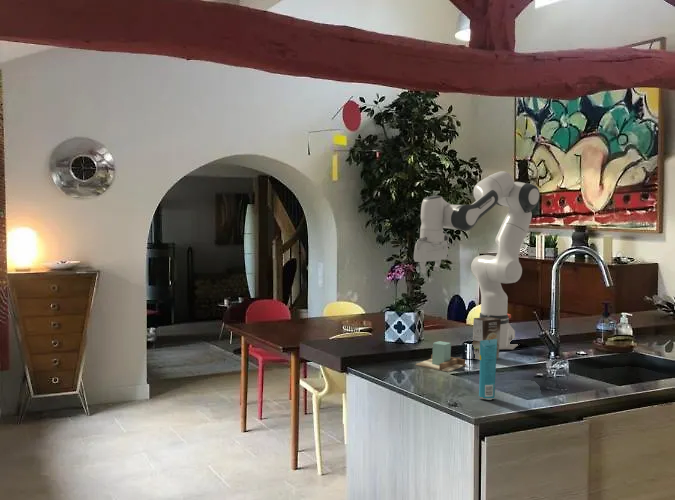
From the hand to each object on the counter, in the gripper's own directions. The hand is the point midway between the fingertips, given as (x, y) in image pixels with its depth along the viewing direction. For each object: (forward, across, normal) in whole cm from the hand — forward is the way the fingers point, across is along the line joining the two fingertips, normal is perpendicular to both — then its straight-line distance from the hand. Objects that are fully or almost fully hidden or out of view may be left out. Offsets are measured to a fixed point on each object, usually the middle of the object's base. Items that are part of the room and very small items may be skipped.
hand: (430, 272), depth 282 cm
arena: (+34, -8, -11) cm, 37 cm away
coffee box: (+34, +15, -18) cm, 41 cm away
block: (+34, -8, -11) cm, 36 cm away
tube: (+34, -37, -44) cm, 67 cm away
